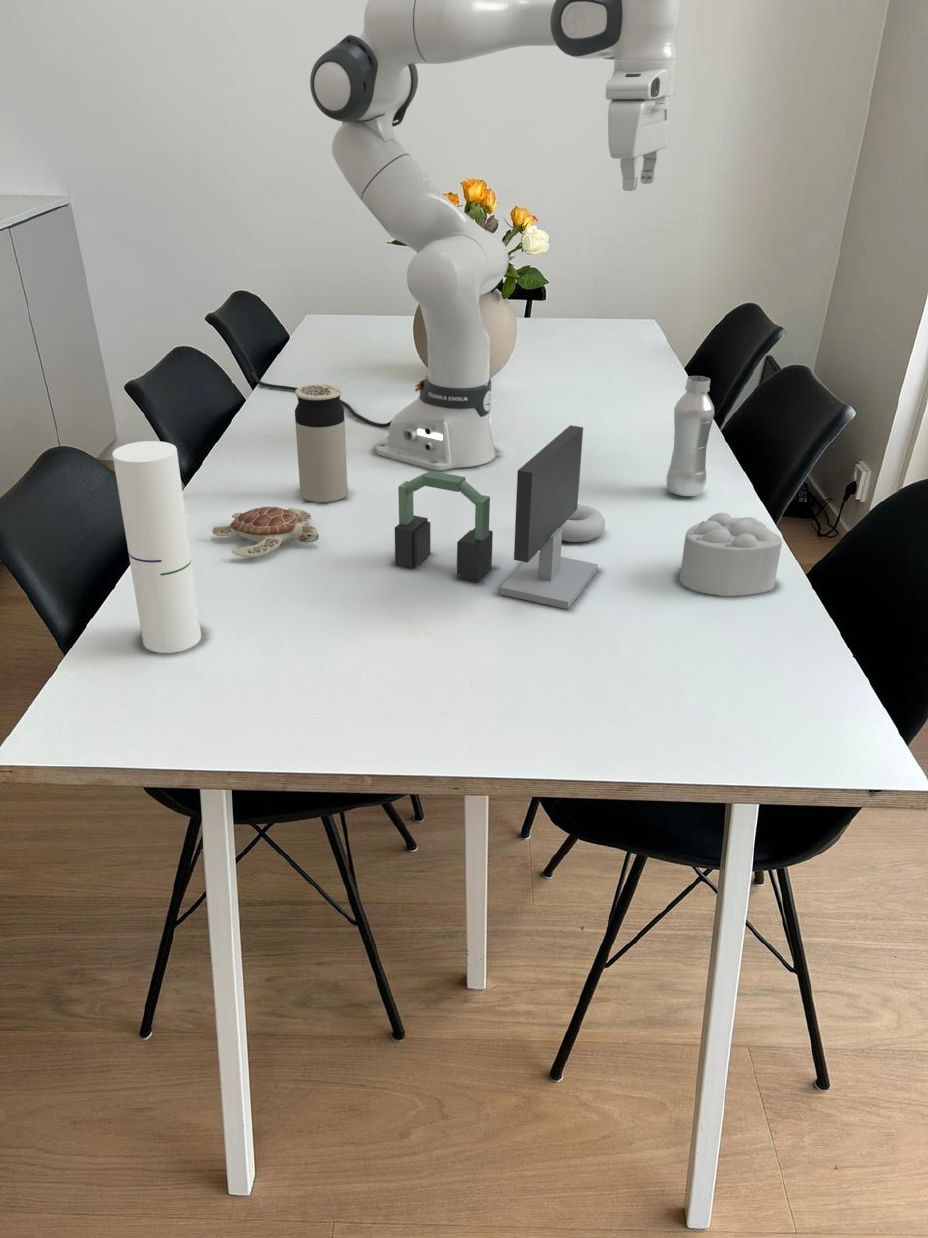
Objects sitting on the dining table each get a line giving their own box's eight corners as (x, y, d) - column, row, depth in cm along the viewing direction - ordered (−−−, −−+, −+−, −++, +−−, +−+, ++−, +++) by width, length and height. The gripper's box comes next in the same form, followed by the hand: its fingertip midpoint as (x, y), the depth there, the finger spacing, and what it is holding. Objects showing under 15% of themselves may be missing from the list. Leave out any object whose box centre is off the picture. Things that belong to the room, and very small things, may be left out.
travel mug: (310, 507, 167) (303, 400, 158) (294, 490, 173) (286, 386, 164) (355, 499, 170) (350, 393, 161) (337, 483, 176) (332, 381, 168)
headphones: (395, 564, 148) (393, 474, 142) (411, 551, 153) (410, 463, 146) (477, 582, 144) (479, 490, 137) (491, 568, 148) (494, 478, 141)
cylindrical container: (149, 625, 132) (119, 441, 120) (204, 624, 132) (181, 440, 120) (138, 654, 125) (106, 462, 113) (196, 652, 126) (171, 461, 114)
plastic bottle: (704, 502, 171) (720, 385, 161) (663, 498, 172) (677, 382, 163) (704, 488, 177) (719, 374, 167) (664, 485, 178) (678, 372, 168)
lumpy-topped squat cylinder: (782, 590, 143) (792, 534, 139) (697, 600, 140) (705, 543, 136) (747, 559, 152) (755, 506, 147) (666, 568, 149) (673, 513, 145)
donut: (596, 550, 154) (610, 524, 162) (598, 529, 152) (612, 504, 161) (533, 540, 157) (549, 515, 165) (534, 520, 155) (551, 496, 163)
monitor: (489, 605, 138) (493, 466, 128) (541, 549, 154) (548, 421, 144) (558, 620, 134) (568, 479, 125) (604, 561, 150) (616, 432, 141)
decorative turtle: (289, 572, 146) (287, 540, 143) (190, 553, 151) (186, 522, 148) (345, 525, 161) (344, 495, 158) (253, 509, 166) (251, 480, 163)
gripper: (642, 81, 156) (637, 178, 162) (601, 85, 140) (597, 193, 146) (683, 80, 153) (676, 179, 160) (646, 85, 137) (640, 195, 144)
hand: (638, 186), depth 153 cm, fingers open, 8 cm apart
